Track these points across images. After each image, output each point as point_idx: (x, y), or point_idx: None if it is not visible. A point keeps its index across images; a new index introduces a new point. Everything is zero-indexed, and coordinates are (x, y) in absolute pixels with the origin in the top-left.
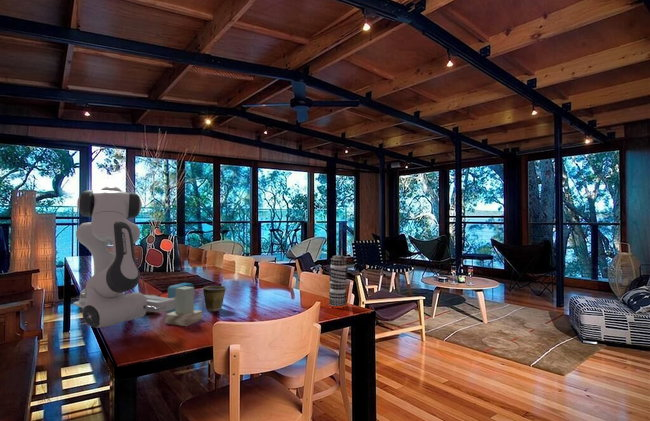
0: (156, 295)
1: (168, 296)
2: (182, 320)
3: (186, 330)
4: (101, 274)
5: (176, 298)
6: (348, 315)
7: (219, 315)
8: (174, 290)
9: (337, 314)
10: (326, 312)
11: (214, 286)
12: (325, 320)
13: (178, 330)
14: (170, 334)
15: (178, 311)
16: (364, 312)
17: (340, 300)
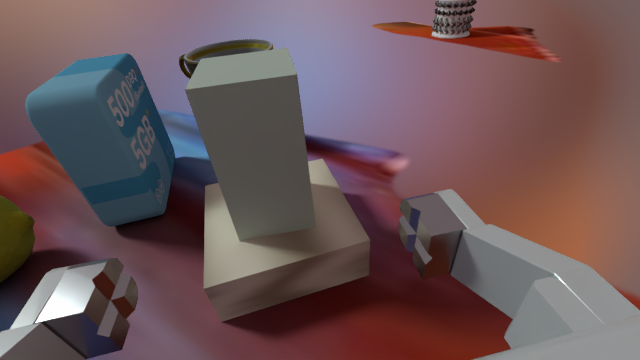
0: (101, 273)
1: (67, 157)
2: (342, 264)
3: (456, 318)
4: None
5: (447, 193)
6: (531, 40)
7: (326, 143)
8: (92, 112)
9: (512, 44)
10: (483, 47)
11: (206, 48)
12: (554, 60)
13: (427, 352)
14: None
15: (264, 226)
16: (522, 30)
17: (469, 17)
